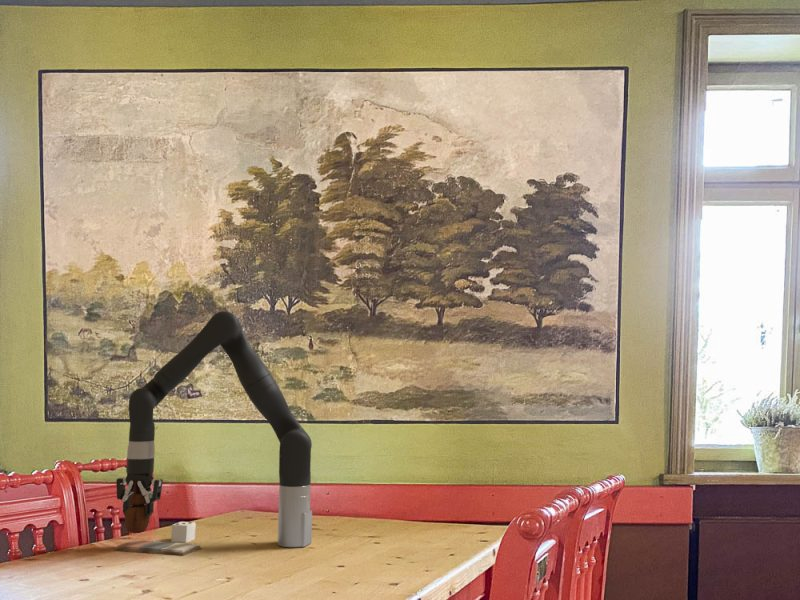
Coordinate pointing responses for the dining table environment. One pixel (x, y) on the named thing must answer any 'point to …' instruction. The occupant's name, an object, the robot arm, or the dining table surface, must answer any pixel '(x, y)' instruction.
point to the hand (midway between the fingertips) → (137, 515)
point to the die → (183, 532)
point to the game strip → (157, 547)
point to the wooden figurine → (136, 513)
